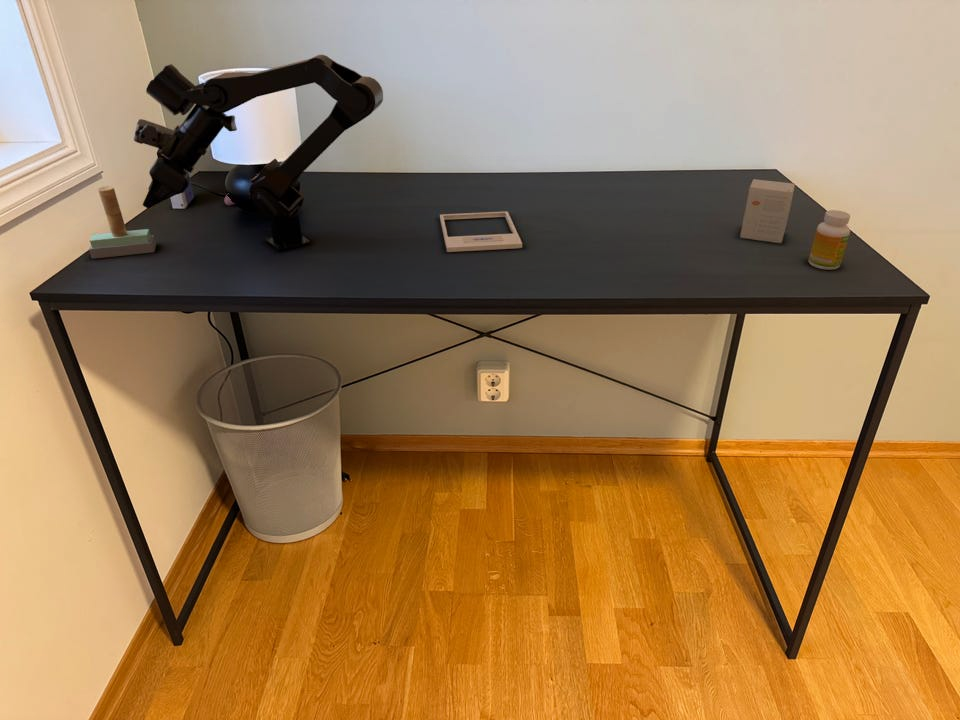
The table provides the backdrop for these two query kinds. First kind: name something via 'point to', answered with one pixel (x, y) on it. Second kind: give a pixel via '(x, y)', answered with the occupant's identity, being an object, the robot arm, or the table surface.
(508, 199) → the table surface
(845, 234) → the supplement bottle
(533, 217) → the table surface
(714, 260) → the table surface
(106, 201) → the wiper
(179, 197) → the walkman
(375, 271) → the table surface
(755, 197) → the small box
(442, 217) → the photo frame
